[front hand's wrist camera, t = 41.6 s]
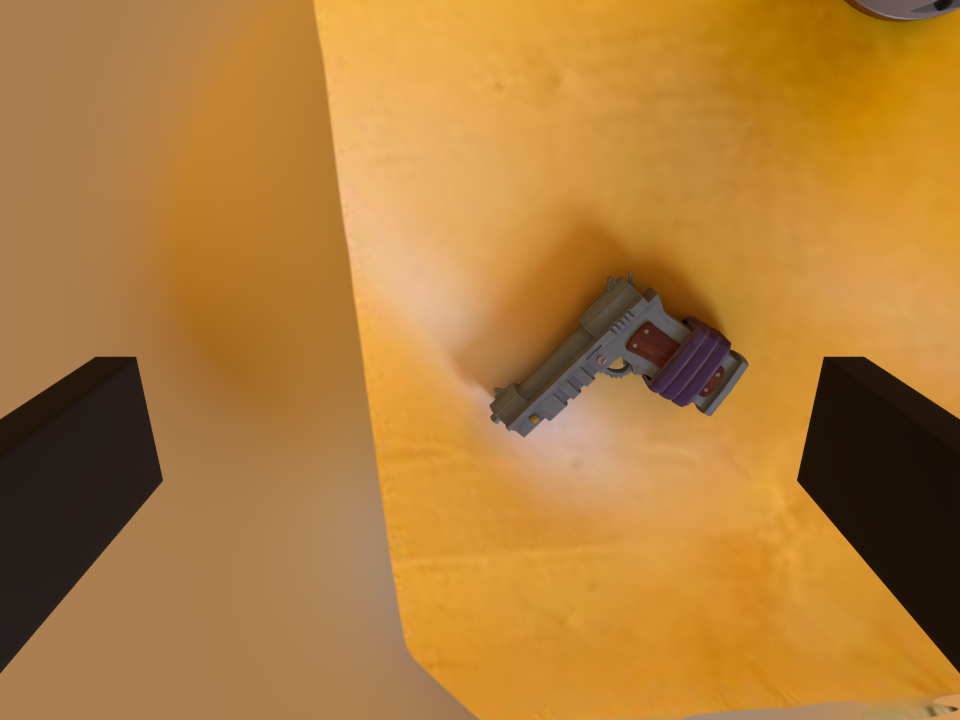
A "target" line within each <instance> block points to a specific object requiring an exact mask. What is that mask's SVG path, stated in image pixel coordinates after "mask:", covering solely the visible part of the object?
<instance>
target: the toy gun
mask: <svg viewBox="0 0 960 720" xmlns="http://www.w3.org/2000/svg"><path fill="white" fill-rule="evenodd" d="M607 280H608V283H607V285H606V286H605V287H606V289H607V290H606V291H605V292H604V293H603V294H602V295H601V296H600V297H599V298H598V299H597V300H596V301H595V302H594V303H593V304H592V305H591V306H590V307H589V308H588V309H587V310H586V311H585V312H584V313H583V314H582V315H581V316H580V317H579V318H578V320H579V322H580V323H581V325H580V326H579V327H578V328H577V329H576V330H575V331H574V332H573V333H572V334H571V335H570V336H569V337H568V338H567V339H566V340H565V341H564V342H563V343H562V344H561V345H560V346H559V347H558V348H557V349H556V350H555V351H554V352H553V353H552V354H551V355H550V356H549V357H548V358H547V359H546V360H545V361H544V362H543V363H542V364H541V365H540V366H539V367H538V368H536V369H535V370H534V371H533V372H532V373H531V374H530V375H529V376H528V377H527V378H526V379H525V380H524V381H523V382H522V383H521V384H520V385H518V384H517V383H512V384H511V385H510V386H509V387H508V388H507V389H501V388H495V387H494V388H493V389H494V392H496V393H498V394H497V395H495V398H496V400H495V401H494V402H492V403H491V404H490V405H489V406H490V408H491V410H492V412H493V413H494V414H492V415H491V417H490V418H491V420H492V421H493V422H494V423H496V424H497V423H499V422H500V421H502V422H503V423H504V424H506V428H507V430H508V431H510V430H511V429H512V430H513V431H514V430H515V431H516V432H518V433H519V434H520V435H521V436H522V437H525V436H526V435H528V434H529V433H530V432H531V431H532V430H533V429H534V428H535V427H536V426H537V425H538V424H539V423H540V422H541V421H542V420H543V419H545V418H546V419H548V420H549V421H551V420H552V419H553V418H554V417H555V416H556V415H557V414H558V413H559V412H561V411H562V410H563V409H564V408H565V407H566V406H567V400H568V399H569V398H572V399H574V398H576V397H577V396H578V395H579V394H580V393H581V389H580V388H581V387H582V386H583V385H585V386H588V385H589V384H591V383H592V382H593V381H594V380H595V377H594V375H595V374H596V373H597V372H598V371H599V372H600V373H602V372H603V373H605V374H606V375H609V374H610V377H611V378H613V377H614V376H615V378H617V377H618V376H619V377H620V378H622V377H623V376H625V375H628V374H629V373H630V372H631V371H632V372H633V374H636V375H641V374H642V378H643V379H644V381H645V383H646V384H647V386H648V388H649V389H650V390H651V391H653V392H655V393H659V394H660V395H661V396H662V397H664V398H666V399H668V400H670V399H671V400H672V402H673V403H675V404H677V405H679V406H681V407H684V406H686V405H688V404H690V403H691V402H693V403H695V405H696V407H697V409H698V410H699V411H700V412H702V413H704V414H706V415H708V416H711V415H712V414H713V413H714V411H715V410H716V409H717V408H718V406H719V405H720V404H721V403H722V401H723V400H724V399H725V398H726V396H727V395H728V394H729V393H730V391H731V390H732V388H733V387H734V386H735V384H736V383H737V381H738V380H739V378H740V377H741V376H742V374H743V373H744V371H745V370H746V368H747V367H748V366H749V365H748V363H747V360H746V359H745V358H744V357H743V356H742V355H741V354H739V353H737V352H735V351H733V350H730V347H731V342H730V341H729V340H728V339H727V338H725V337H724V336H723V335H722V334H721V333H720V332H719V331H717V330H715V329H713V328H711V327H709V326H708V325H706V324H705V323H703V322H701V321H698V320H697V319H696V318H694V317H691V316H690V317H687V318H685V319H684V320H683V321H682V322H680V321H679V320H677V319H676V318H675V317H673V316H672V315H670V314H669V313H667V312H666V311H665V310H663V306H662V303H661V300H660V297H659V295H658V294H657V293H656V292H655V291H654V290H653V289H652V288H651V287H649V288H648V289H647V290H646V291H645V292H644V293H643V294H641V293H640V292H639V291H638V290H637V289H636V288H635V287H634V286H635V284H634V282H633V277H632V273H631V272H629V282H628V281H627V280H626V279H625V278H624V277H623V276H621V277H620V278H619V279H618V280H617V281H615V280H614V279H613V278H612V277H611V276H609V277H608V278H607ZM619 356H621V357H622V359H623V361H624V362H623V365H625V366H624V367H623V368H621V369H611V368H608V367H609V366H610V365H611V364H612V363H613V362H614V361H615V360H616V359H617V358H618V357H619Z"/></svg>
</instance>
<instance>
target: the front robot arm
mask: <svg viewBox="0 0 960 720" xmlns="http://www.w3.org/2000/svg"><path fill="white" fill-rule="evenodd" d="M845 1H846V2H847V3H848V4H849V5H851V6H852V7H854V8H855V9H857V10H858V11H860V12H862V13H864V14H866V15H868V16H871V17H874V18H877V19H881V20H886V21H896V22H902V21H914V20H921V19H926V18H931V17H935V16H939V15H943V14H946V13H949V12H952V11H954V10H956V9H958V8H960V0H845ZM162 481H163V478H162V474H161V469H160V465H159V460H158V456H157V451H156V446H155V442H154V437H153V432H152V428H151V423H150V419H149V414H148V410H147V405H146V400H145V396H144V391H143V387H142V382H141V377H140V373H139V368H138V364H137V359H136V357H95V358H93V359H92V360H90V361H89V362H87V363H86V364H84V365H83V366H81V367H79V368H78V369H76V370H75V371H74V372H72V373H70V374H69V375H67V376H66V377H64V378H63V379H61V380H60V381H58V382H57V383H55V384H54V385H52V386H50V387H49V388H47V389H46V390H44V391H43V392H41V393H40V394H38V395H37V396H35V397H34V398H32V399H31V400H29V401H28V402H26V403H25V404H23V405H21V406H20V407H18V408H17V409H15V410H14V411H12V412H11V413H9V414H8V415H6V416H5V417H3V418H2V419H0V673H1V672H2V671H3V669H4V668H5V667H6V666H7V665H8V664H9V662H10V661H11V660H12V659H13V658H14V656H15V655H16V654H17V653H18V652H19V651H20V649H21V648H22V647H23V646H24V645H25V643H26V642H27V641H28V640H29V639H30V637H31V636H32V635H33V634H34V633H35V632H36V630H37V629H38V628H39V627H40V626H41V624H42V623H43V622H44V621H45V620H46V619H47V617H48V616H49V615H50V614H51V613H52V611H53V610H54V609H55V608H56V607H57V605H58V604H59V603H60V602H61V601H62V600H63V598H64V597H65V596H66V595H67V594H68V592H69V591H70V590H71V589H72V588H73V587H74V585H75V584H76V583H77V582H78V581H79V579H80V578H81V577H82V576H83V575H84V574H85V572H86V571H87V570H88V569H89V568H90V566H91V565H92V564H93V563H94V562H95V561H96V559H97V558H98V557H99V556H100V555H101V553H102V552H103V551H104V550H105V549H106V547H107V546H108V545H109V544H110V543H111V542H112V540H113V539H114V538H115V537H116V536H117V534H118V533H119V532H120V531H121V530H122V529H123V527H124V526H125V525H126V524H127V523H128V521H129V520H130V519H131V518H132V517H133V515H134V514H135V513H136V512H137V511H138V510H139V508H140V507H141V506H142V505H143V504H144V502H145V501H146V500H147V499H148V498H149V497H150V495H151V494H152V493H153V492H154V491H155V489H156V488H157V487H158V486H159V485H160V484H161V482H162ZM797 481H798V482H799V484H800V485H801V486H802V487H803V488H804V489H805V491H806V492H807V493H808V494H809V495H810V497H811V498H812V499H813V500H814V501H815V502H816V504H817V505H818V506H819V507H820V508H821V510H822V511H823V512H824V513H825V514H826V516H827V517H828V518H829V519H830V520H831V521H832V523H833V524H834V525H835V526H836V527H837V529H838V530H839V531H840V532H841V533H842V534H843V536H844V537H845V538H846V539H847V540H848V542H849V543H850V544H851V545H852V546H853V547H854V549H855V550H856V551H857V552H858V553H859V555H860V556H861V557H862V558H863V559H864V561H865V562H866V563H867V564H868V565H869V566H870V568H871V569H872V570H873V571H874V572H875V574H876V575H877V576H878V577H879V578H880V579H881V581H882V582H883V583H884V584H885V585H886V587H887V588H888V589H889V590H890V591H891V592H892V594H893V595H894V596H895V597H896V598H897V600H898V601H899V602H900V603H901V604H902V606H903V607H904V608H905V609H906V610H907V611H908V613H909V614H910V615H911V616H912V617H913V619H914V620H915V621H916V622H917V623H918V624H919V626H920V627H921V628H922V629H923V630H924V632H925V633H926V634H927V635H928V636H929V637H930V639H931V640H932V641H933V642H934V643H935V645H936V646H937V647H938V648H939V649H940V651H941V652H942V653H943V654H944V655H945V656H946V658H947V659H948V660H949V661H950V662H951V664H952V665H953V666H954V667H955V668H956V669H957V671H958V672H959V673H960V419H958V418H957V417H955V416H954V415H952V414H951V413H949V412H948V411H946V410H945V409H943V408H942V407H940V406H939V405H937V404H935V403H934V402H932V401H931V400H929V399H928V398H926V397H925V396H923V395H922V394H920V393H919V392H917V391H916V390H914V389H913V388H911V387H910V386H908V385H906V384H905V383H903V382H902V381H900V380H899V379H897V378H896V377H894V376H893V375H891V374H890V373H888V372H887V371H885V370H884V369H882V368H881V367H879V366H877V365H876V364H874V363H873V362H871V361H870V360H868V359H867V358H865V357H824V359H823V364H822V368H821V373H820V377H819V382H818V387H817V391H816V396H815V400H814V405H813V410H812V414H811V419H810V423H809V428H808V432H807V437H806V442H805V446H804V451H803V455H802V460H801V465H800V469H799V474H798V478H797Z"/></svg>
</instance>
